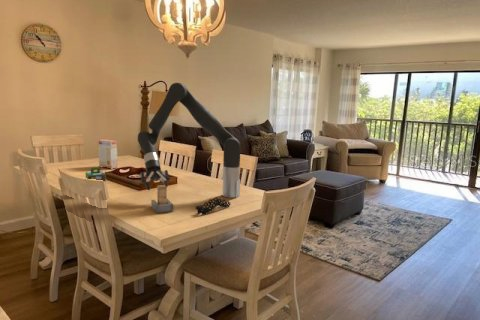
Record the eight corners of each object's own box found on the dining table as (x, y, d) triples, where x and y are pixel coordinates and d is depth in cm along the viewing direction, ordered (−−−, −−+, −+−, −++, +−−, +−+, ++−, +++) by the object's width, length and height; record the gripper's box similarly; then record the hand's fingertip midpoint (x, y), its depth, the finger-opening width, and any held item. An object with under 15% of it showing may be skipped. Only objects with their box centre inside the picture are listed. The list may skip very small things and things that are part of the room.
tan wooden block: (157, 207, 174) (157, 185, 172) (164, 206, 176) (164, 185, 174) (159, 209, 171) (159, 187, 169) (166, 208, 172) (166, 187, 170)
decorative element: (224, 205, 185) (224, 194, 184) (231, 207, 182) (232, 195, 181) (193, 214, 168) (193, 202, 167) (200, 217, 165) (200, 205, 164)
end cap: (151, 206, 176) (151, 199, 176) (167, 205, 180) (167, 198, 179) (156, 213, 167) (156, 206, 166) (173, 211, 170) (173, 204, 170)
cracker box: (117, 168, 265) (117, 140, 261) (111, 169, 260) (110, 141, 256) (105, 165, 272) (105, 139, 269) (99, 167, 267) (98, 139, 264)
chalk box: (103, 190, 204) (102, 165, 201) (106, 194, 196) (105, 167, 194) (85, 191, 199) (84, 166, 196) (88, 195, 191) (87, 169, 189)
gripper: (139, 159, 182) (144, 186, 174) (166, 158, 188) (172, 184, 180) (137, 167, 187) (142, 193, 179) (164, 166, 194) (169, 191, 186)
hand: (157, 188), depth 180 cm, fingers open, 8 cm apart
